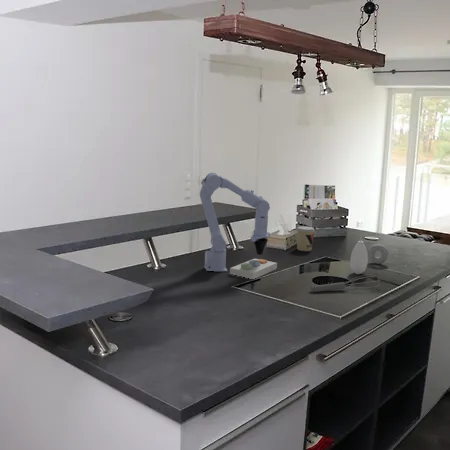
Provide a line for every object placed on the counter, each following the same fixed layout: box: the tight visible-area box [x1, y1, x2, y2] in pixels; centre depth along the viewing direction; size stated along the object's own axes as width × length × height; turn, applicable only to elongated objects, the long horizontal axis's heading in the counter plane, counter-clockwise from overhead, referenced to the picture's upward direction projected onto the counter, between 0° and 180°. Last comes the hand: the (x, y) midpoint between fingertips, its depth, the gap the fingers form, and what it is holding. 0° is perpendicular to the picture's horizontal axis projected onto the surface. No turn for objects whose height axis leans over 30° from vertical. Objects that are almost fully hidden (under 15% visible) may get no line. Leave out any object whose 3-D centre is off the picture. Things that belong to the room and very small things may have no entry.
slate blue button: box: [248, 259, 260, 267], centre depth 247 cm, size 4×4×3 cm
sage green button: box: [240, 262, 252, 270], centre depth 242 cm, size 4×4×3 cm
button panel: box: [229, 258, 278, 280], centre depth 248 cm, size 22×12×3 cm, turn 147°
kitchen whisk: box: [306, 273, 381, 294], centre depth 226 cm, size 6×34×6 cm, turn 107°
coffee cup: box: [296, 225, 316, 252], centre depth 293 cm, size 9×9×12 cm
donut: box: [367, 243, 389, 265], centre depth 269 cm, size 10×3×10 cm, turn 65°
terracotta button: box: [257, 258, 268, 264], centre depth 253 cm, size 4×4×3 cm
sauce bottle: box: [349, 236, 369, 275], centre depth 250 cm, size 8×8×18 cm
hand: (259, 254), depth 250 cm, fingers closed
